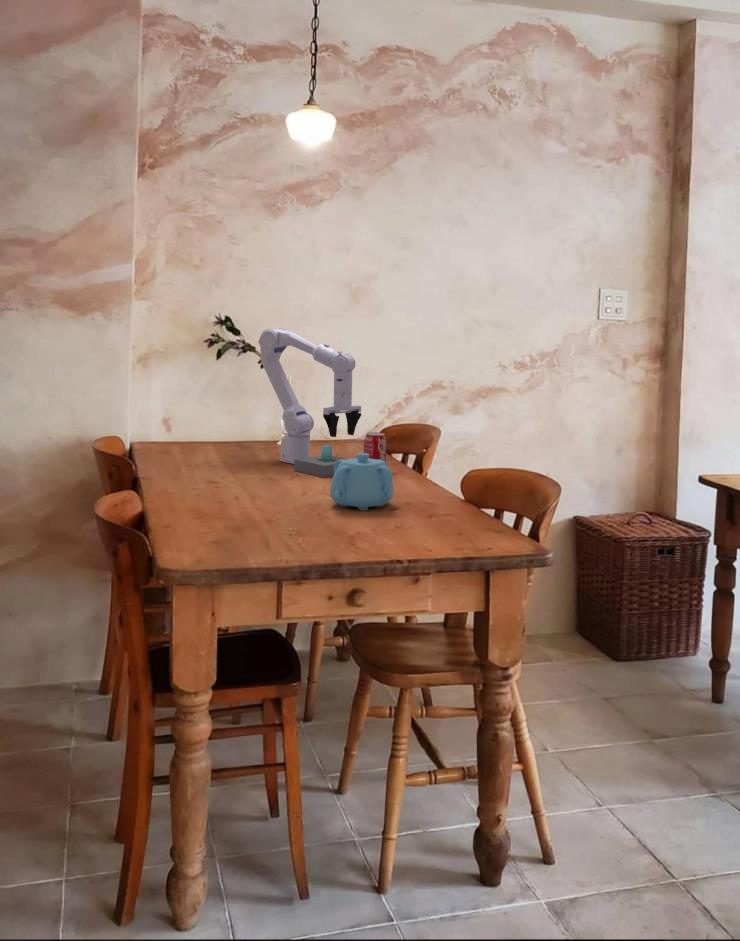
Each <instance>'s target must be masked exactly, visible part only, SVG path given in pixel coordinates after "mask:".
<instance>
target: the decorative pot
mask: <svg viewBox="0 0 740 941" xmlns="http://www.w3.org/2000/svg"><path fill="white" fill-rule="evenodd" d="M368 457H369V454H367V453H363V452H359V453H358V452H357V453H356V458H354V457H353V458H346V459H347V460H345V459H341V460H338V461H337V462H336V463H335V465H334V473H335V474H334V476H332V480H331V483H330V488H329V490H330V491H329V493H330V497H331V498H332V500H333V501H334V503H336V504H339V505H340V507H355V508H357V509H360V510H359V511H368V510H369V507H378V508H379V507H380V508H381V507H385V504H387V503H389V502H390V501H391V500H392V499H393V497H394V483H393V475H394V474H393V472H392V470H391V469H390V468H389V465H388V463H387V461H386V462H385V461H383V460H376V459H369V458H368Z"/></svg>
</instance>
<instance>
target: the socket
mask: <svg viewBox="0 0 740 941" xmlns="http://www.w3.org/2000/svg"><path fill="white" fill-rule="evenodd" d="M341 459H345V460H347V459H348V458H345V457H339V456H337V455H336V456H335V455H332V461H329V462H323V461H321V455H316V456H310V457H309V458H301V459H294V464H293V465H294V466H293V467H294V469H293V470H294V471H295V472H299V473H303V474H307V475H312V476H316V477H321V478H330V477H333V476H334V474H335V473H334V465H335V463H336V462H337V461H338V460H341Z"/></svg>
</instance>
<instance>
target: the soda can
mask: <svg viewBox="0 0 740 941" xmlns="http://www.w3.org/2000/svg"><path fill="white" fill-rule="evenodd" d="M385 435H386V434H385V433H383V432H376V431H375V432H367V433H366V434H365V436H364V439H363V452H362V453H367V454H369V457H368V458H369V459H376V460H383V461H385V462H386V463H387V438H386V436H385Z"/></svg>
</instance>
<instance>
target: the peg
mask: <svg viewBox="0 0 740 941" xmlns="http://www.w3.org/2000/svg"><path fill="white" fill-rule="evenodd" d="M320 448H321V450H320V456H321V461H323V462H329V461H332V456H333V445H329V444H326V445H323V444H322V445H321V447H320Z"/></svg>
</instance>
